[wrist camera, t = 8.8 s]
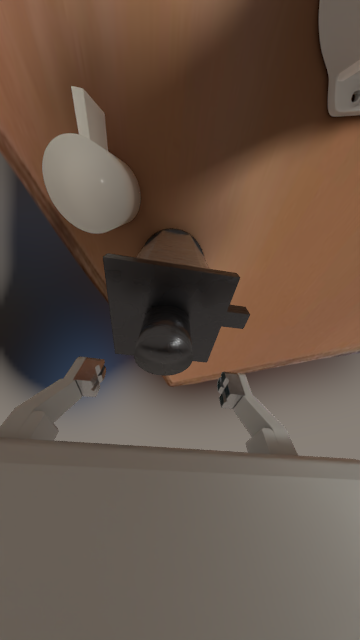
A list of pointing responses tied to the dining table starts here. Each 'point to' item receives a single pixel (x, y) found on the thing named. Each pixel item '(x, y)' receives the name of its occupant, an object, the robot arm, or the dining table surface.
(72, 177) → the diner mug
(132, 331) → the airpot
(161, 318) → the pump plunger
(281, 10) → the dining table surface
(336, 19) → the robot arm
